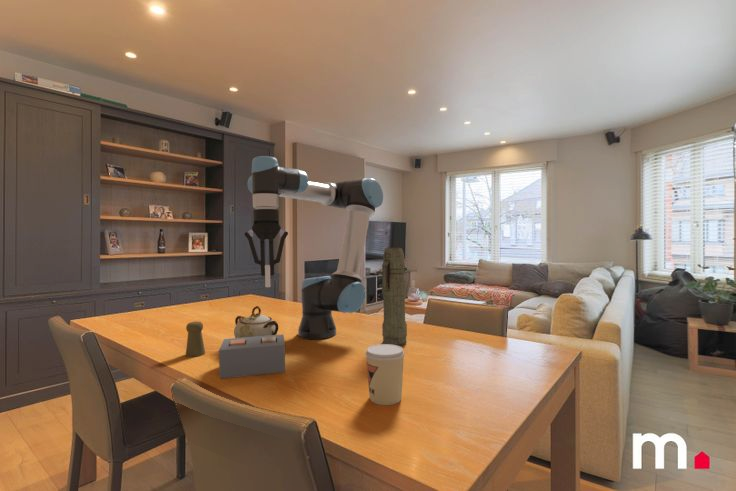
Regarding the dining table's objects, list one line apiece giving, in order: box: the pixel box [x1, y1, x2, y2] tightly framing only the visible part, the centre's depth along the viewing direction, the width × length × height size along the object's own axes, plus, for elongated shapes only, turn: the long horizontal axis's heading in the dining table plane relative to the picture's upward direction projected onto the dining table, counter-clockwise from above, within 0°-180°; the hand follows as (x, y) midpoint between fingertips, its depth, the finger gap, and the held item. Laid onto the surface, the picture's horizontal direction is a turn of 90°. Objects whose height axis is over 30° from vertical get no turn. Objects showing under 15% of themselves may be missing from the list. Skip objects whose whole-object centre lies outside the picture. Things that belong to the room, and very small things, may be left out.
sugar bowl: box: [233, 305, 279, 338], centre depth 133 cm, size 20×15×15 cm
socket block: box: [218, 334, 286, 380], centre depth 113 cm, size 18×12×8 cm, turn 104°
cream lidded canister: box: [365, 343, 405, 406], centre depth 91 cm, size 9×9×12 cm
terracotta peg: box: [230, 339, 245, 346], centre depth 112 cm, size 4×4×8 cm
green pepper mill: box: [185, 321, 206, 358], centre depth 128 cm, size 6×6×11 cm
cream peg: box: [262, 337, 276, 343], centre depth 114 cm, size 4×4×8 cm
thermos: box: [381, 246, 408, 347], centre depth 138 cm, size 9×12×35 cm
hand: (268, 286), depth 114 cm, fingers closed
